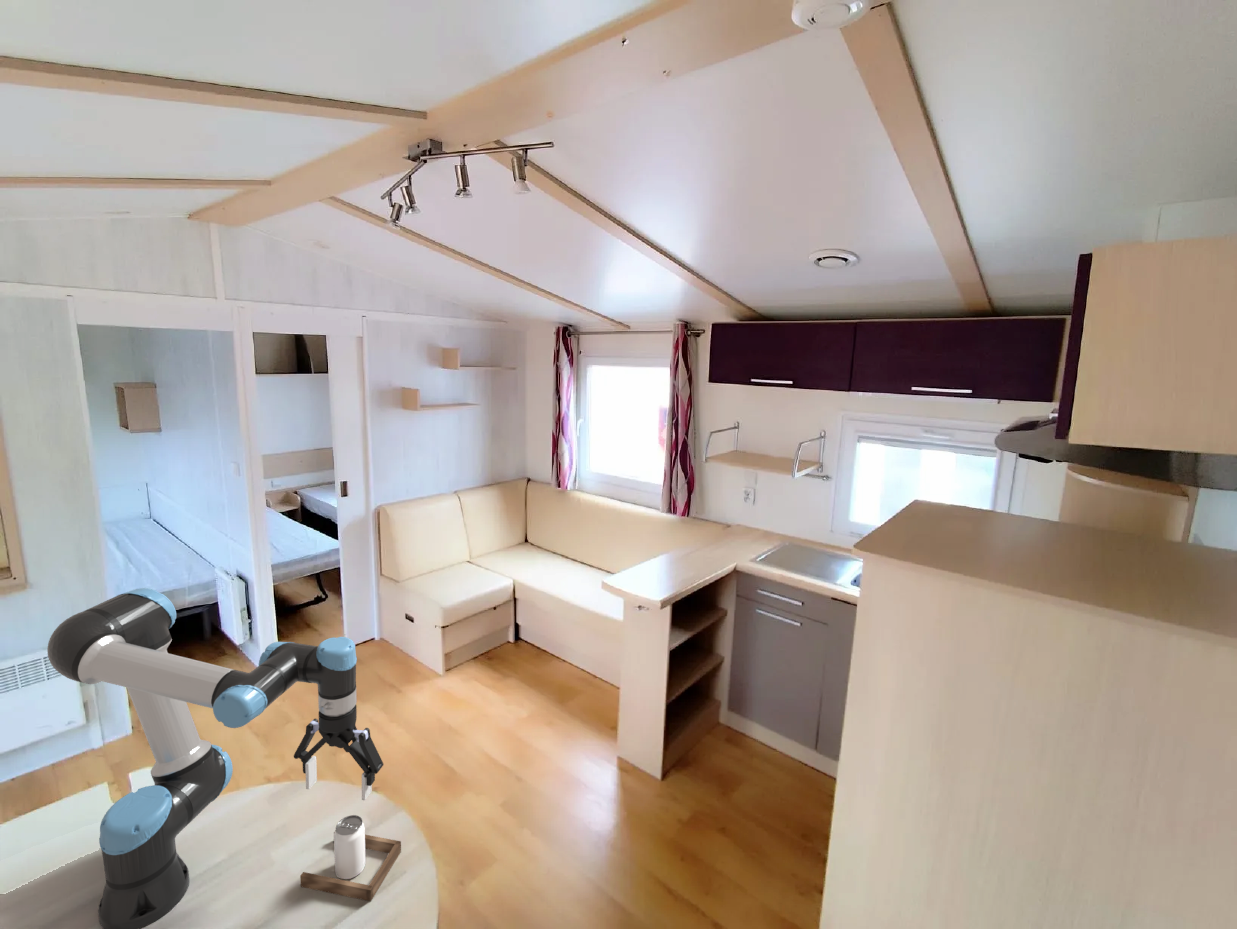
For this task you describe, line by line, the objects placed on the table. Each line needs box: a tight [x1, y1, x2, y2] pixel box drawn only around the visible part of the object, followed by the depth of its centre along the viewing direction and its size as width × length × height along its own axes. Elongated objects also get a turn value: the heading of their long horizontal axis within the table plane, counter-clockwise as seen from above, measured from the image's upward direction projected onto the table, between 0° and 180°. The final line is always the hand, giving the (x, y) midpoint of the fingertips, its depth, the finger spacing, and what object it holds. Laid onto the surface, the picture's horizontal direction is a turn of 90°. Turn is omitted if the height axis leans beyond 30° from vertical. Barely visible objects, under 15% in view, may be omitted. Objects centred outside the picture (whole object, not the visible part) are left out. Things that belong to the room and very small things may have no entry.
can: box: [333, 814, 366, 880], centre depth 133 cm, size 6×6×12 cm
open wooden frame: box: [299, 834, 402, 902], centre depth 134 cm, size 17×13×3 cm
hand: (338, 790), depth 130 cm, fingers open, 13 cm apart
